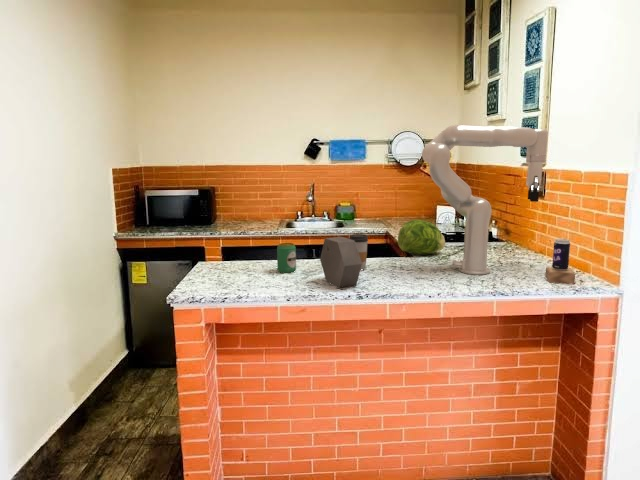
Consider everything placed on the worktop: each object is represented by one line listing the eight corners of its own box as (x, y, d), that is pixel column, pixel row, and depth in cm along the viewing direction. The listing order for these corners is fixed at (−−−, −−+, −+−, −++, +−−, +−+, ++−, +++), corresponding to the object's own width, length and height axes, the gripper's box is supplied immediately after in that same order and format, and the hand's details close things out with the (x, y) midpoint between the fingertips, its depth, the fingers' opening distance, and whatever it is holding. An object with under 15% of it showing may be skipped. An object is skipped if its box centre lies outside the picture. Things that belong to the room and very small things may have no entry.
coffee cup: (371, 268, 215) (372, 235, 212) (359, 272, 209) (360, 237, 206) (356, 266, 220) (357, 233, 218) (344, 269, 214) (344, 235, 212)
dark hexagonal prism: (366, 277, 181) (350, 227, 188) (348, 280, 178) (333, 229, 185) (346, 292, 195) (333, 245, 202) (330, 294, 192) (316, 247, 199)
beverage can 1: (286, 274, 206) (286, 246, 204) (273, 271, 211) (273, 244, 209) (299, 271, 211) (299, 244, 209) (287, 268, 217) (286, 241, 215)
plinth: (548, 282, 190) (549, 271, 190) (545, 276, 199) (546, 266, 198) (574, 284, 188) (575, 273, 187) (569, 278, 196) (570, 267, 196)
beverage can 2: (554, 267, 197) (556, 238, 194) (569, 269, 193) (572, 239, 191) (550, 270, 192) (552, 240, 190) (565, 272, 189) (568, 241, 187)
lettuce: (456, 241, 235) (445, 215, 248) (412, 234, 229) (403, 208, 242) (440, 266, 247) (431, 240, 260) (397, 260, 241) (390, 234, 254)
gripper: (524, 159, 212) (521, 198, 215) (528, 159, 196) (525, 202, 199) (543, 159, 210) (540, 198, 213) (548, 159, 194) (545, 202, 197)
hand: (532, 200), depth 206 cm, fingers open, 9 cm apart
